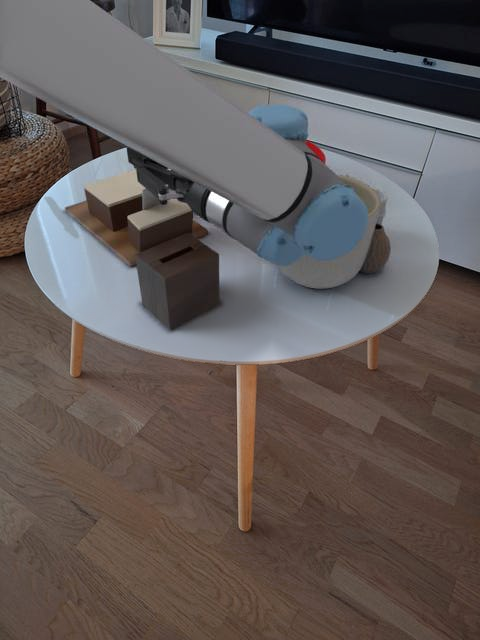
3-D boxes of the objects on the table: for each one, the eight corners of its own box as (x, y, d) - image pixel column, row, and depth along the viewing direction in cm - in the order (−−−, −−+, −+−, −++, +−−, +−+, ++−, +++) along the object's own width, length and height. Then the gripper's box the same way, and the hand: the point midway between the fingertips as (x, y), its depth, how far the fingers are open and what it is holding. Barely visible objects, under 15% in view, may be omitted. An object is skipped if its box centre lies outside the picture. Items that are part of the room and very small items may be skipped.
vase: (361, 252, 90) (371, 212, 84) (392, 267, 86) (404, 226, 80) (340, 266, 86) (348, 225, 80) (371, 283, 83) (382, 241, 77)
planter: (307, 236, 94) (317, 163, 83) (380, 272, 85) (401, 196, 75) (249, 271, 84) (252, 195, 74) (325, 315, 76) (340, 235, 66)
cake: (164, 213, 97) (161, 186, 93) (113, 232, 91) (108, 204, 87) (138, 195, 103) (135, 169, 99) (89, 212, 97) (83, 185, 92)
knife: (168, 229, 91) (172, 140, 77) (147, 238, 89) (147, 147, 74) (160, 221, 92) (162, 132, 78) (139, 230, 90) (137, 139, 75)
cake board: (208, 234, 93) (207, 229, 93) (130, 267, 84) (130, 262, 84) (138, 187, 107) (137, 183, 107) (65, 211, 98) (64, 207, 98)
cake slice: (192, 232, 92) (194, 207, 87) (140, 253, 86) (139, 228, 81) (180, 220, 94) (181, 196, 89) (128, 241, 88) (127, 215, 83)
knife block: (219, 303, 77) (219, 254, 71) (170, 330, 72) (165, 279, 66) (190, 281, 82) (187, 232, 75) (142, 304, 77) (134, 254, 70)
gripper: (181, 241, 68) (101, 184, 81) (259, 208, 76) (175, 160, 89) (178, 194, 63) (93, 141, 76) (262, 164, 71) (173, 120, 84)
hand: (138, 151), depth 82 cm, fingers closed on knife, 3 cm apart
